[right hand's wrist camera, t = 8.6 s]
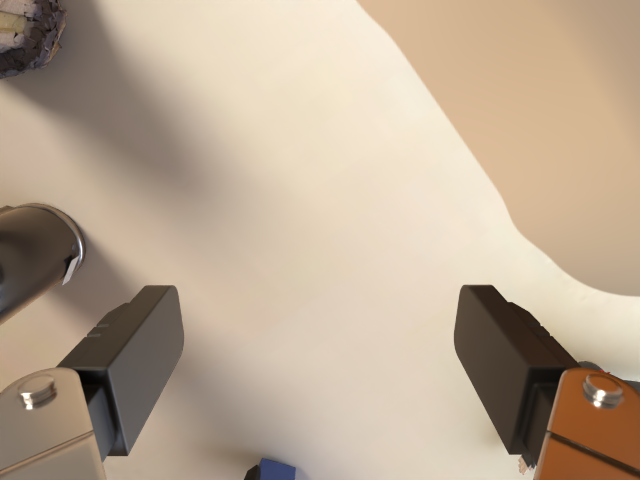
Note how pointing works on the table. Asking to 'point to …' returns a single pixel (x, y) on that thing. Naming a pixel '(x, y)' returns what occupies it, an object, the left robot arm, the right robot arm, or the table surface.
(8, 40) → the miniature building
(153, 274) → the table surface
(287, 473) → the blue block
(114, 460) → the table surface
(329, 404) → the table surface
